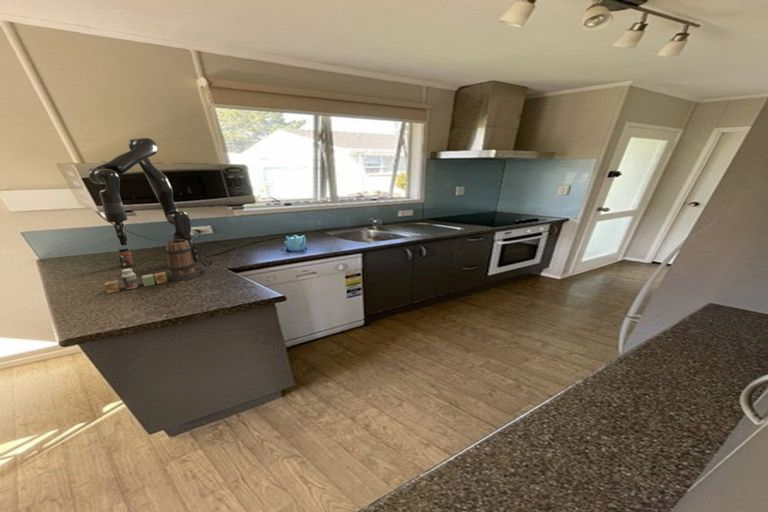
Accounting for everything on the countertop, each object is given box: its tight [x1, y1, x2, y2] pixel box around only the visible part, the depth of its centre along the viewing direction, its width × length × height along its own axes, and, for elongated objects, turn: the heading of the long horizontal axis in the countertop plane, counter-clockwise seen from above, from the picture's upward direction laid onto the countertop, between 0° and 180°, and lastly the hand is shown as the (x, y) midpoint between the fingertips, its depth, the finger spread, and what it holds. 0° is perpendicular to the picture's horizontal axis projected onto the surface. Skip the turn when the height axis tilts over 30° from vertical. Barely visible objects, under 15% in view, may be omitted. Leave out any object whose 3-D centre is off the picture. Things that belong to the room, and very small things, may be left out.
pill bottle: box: [121, 267, 139, 290], centre depth 147 cm, size 5×5×10 cm
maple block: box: [154, 271, 168, 285], centre depth 155 cm, size 5×5×5 cm
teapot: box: [283, 234, 307, 252], centre depth 215 cm, size 15×15×11 cm
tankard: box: [164, 239, 213, 281], centre depth 164 cm, size 24×17×20 cm
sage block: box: [141, 273, 156, 287], centre depth 152 cm, size 5×5×5 cm
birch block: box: [104, 279, 121, 294], centre depth 143 cm, size 5×5×5 cm
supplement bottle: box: [117, 247, 135, 268], centre depth 175 cm, size 6×6×11 cm
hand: (124, 243), depth 145 cm, fingers open, 8 cm apart
